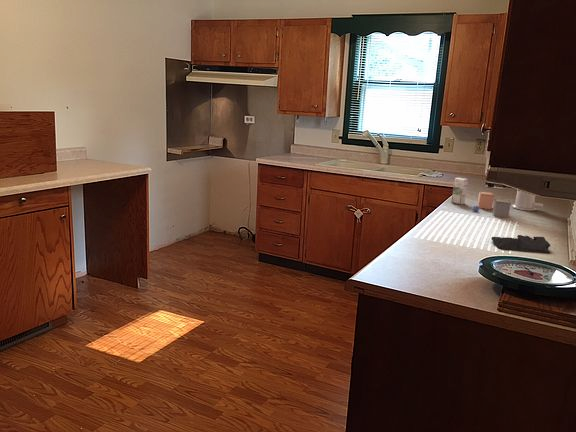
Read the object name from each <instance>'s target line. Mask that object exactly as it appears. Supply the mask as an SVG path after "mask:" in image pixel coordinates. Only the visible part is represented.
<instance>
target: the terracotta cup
mask: <svg viewBox="0 0 576 432" xmlns="http://www.w3.org/2000/svg"><path fill="white" fill-rule="evenodd" d="M494 199H495V194H494V193H493V192H487V191H479V192H478V199H477V204H476V206H478V207H479V209H483V208H484V209H486V210H493V205H494Z"/></svg>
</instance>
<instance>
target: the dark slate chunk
mask: <svg viewBox="0 0 576 432" xmlns="http://www.w3.org/2000/svg"><path fill="white" fill-rule="evenodd" d="M491 241H492V242H493V243H494V245H495V246H496V247H497V248H498V249H499V250H501V251H506V252H507V251H508V252H518V253H519V252H522V253H535V254H547V255H550V254H552V252H551V251H549V248H550V247H551V244H550V242H549V241H548V240H547V239H546V238H545V237H544V236H533V237H531V236H529V235H522V234H518V235H516V238H515V237H508V236H507V237H500V236H491Z"/></svg>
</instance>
